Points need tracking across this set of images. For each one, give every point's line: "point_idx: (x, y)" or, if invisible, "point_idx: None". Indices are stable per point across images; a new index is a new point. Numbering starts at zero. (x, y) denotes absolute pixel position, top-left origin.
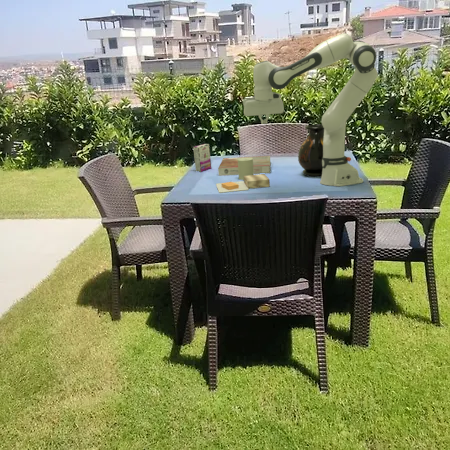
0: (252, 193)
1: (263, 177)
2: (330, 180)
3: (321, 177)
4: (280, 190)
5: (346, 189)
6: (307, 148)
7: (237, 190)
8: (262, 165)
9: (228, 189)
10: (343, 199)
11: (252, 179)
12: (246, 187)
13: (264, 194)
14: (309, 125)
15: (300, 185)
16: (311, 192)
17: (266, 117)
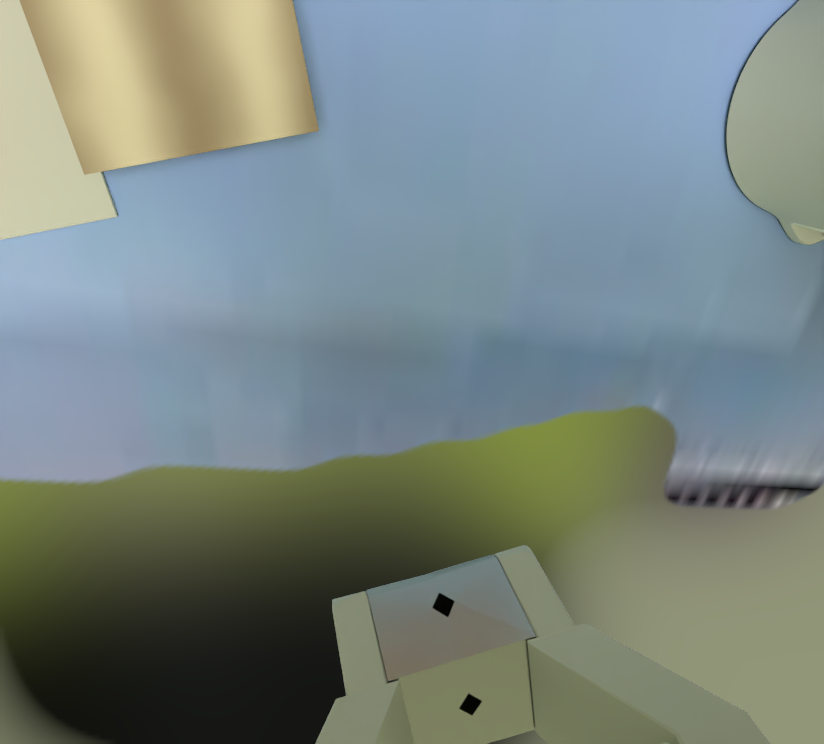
0: (171, 327)
1: (250, 16)
2: (790, 209)
3: (770, 112)
4: (399, 271)
5: (804, 313)
6: None
7: (4, 237)
8: None
9: None
10: (704, 498)
11: (126, 86)
12: None
13: (274, 365)
14: None
15: (572, 142)
16: (595, 353)
17: (621, 706)
